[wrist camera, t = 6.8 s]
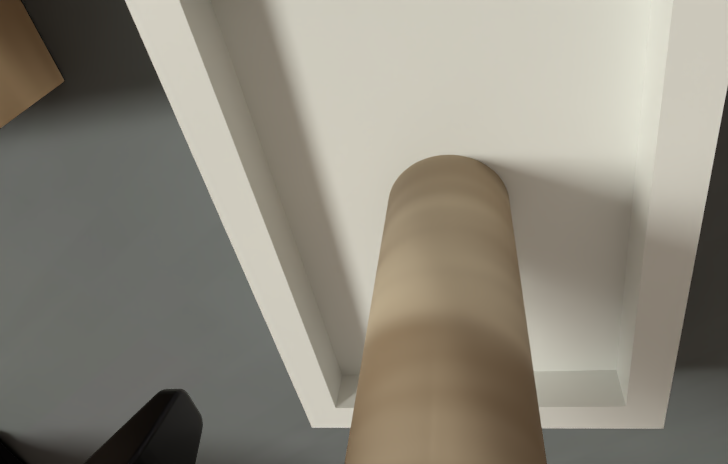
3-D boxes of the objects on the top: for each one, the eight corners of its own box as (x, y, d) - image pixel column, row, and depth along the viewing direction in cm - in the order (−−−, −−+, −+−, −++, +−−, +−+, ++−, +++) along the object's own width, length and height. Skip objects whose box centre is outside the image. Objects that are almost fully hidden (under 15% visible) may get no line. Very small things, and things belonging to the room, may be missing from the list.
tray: (641, 358, 17) (663, 428, 15) (326, 366, 19) (312, 427, 18) (717, -222, 9) (785, -225, 7) (157, -89, 11) (96, -65, 9)
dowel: (512, 249, 14) (594, 863, 6) (398, 258, 14) (329, 822, 6) (506, 147, 12) (607, 802, 4) (378, 162, 13) (252, 757, 5)
